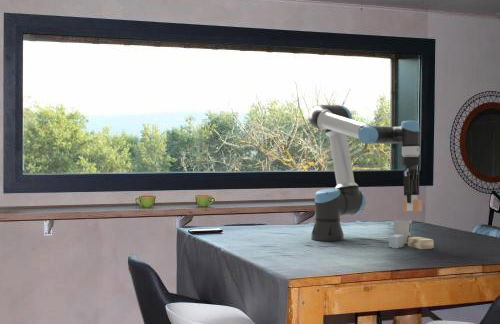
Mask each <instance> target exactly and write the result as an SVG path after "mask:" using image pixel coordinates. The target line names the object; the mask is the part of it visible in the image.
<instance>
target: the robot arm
mask: <svg viewBox="0 0 500 324" xmlns="http://www.w3.org/2000/svg"><path fill="white" fill-rule="evenodd" d="M308 122H309V124H310V125H311V126H312V127H314V128H315V129H318V130H322V131H325V135H326V136H327V137H328V138H329V144H330V150H331V157H332V163H333V164H332V165H333V169H334V176H335V181H336V182H335V183H336V186H335V187H334V188H333V187H331V188H324V189H320V190H317V191H316V192H315V195H314V225H313V228H312V231H311V233H310V234H311V238H310V239H311V240H314V241H320V242H321V241H323V242H337V241H338V242H339V241H342V240H345V236H344V231H343V227H342V225H341V216H354V215H358V214H360V213H362V211H363V210H364V208H365V207H366V204H367V203H366V201H367V199H366V195H365V193H364V192H363V191H362V190H361V189H359V185H358V183H356V182H355V177H354V176H355V175H354V170H353V165H352V159H351V153H350V148H349V147H350V146H349V141H348V137H350V138H354V139H356V140H359V141H360V142H361V143H363V144H367V145H373V144H375V145H376V144H383V145H384V144H386V145H391V144H401V156H402V158H401V165H402V166H404V167H405V171H402V177H403V196H405V198H406V199H405V200H406V202H407V211H413V200H418V196H419V195H420V170H418V169H417V166H420V165H421V157H420V154H421V152H420V151H421V148H420V132H421V131H420V123H419V121H418V120H403V121H401V122H400V123H401V124H400V126H377V125H372V124H368V123H365V122H361V121H358V120H355V119H353V116H352V113H351V111H350V109H349V108H347V107H346V106H343V105H339V104H333V105H332V104H331V105H330V104H318V105H315V106H314V107H312V109H310V111H309V114H308Z"/></svg>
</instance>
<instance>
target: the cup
mask: <svg viewBox="0 0 500 324" xmlns="http://www.w3.org/2000/svg"><path fill="white" fill-rule="evenodd" d="M392 224H393V225H392V226H393V233H394V234H393V235H395V234H396V235H404V245H406V244H407V245H408V237H411V232H412V220H411V219H410V220H409V219H394V220H393V221H392Z"/></svg>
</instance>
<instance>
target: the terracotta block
mask: <svg viewBox="0 0 500 324" xmlns="http://www.w3.org/2000/svg"><path fill="white" fill-rule="evenodd" d="M402 211H403V212H405V213H406V212H408V213H410V212H412V213H413V212H414V213H418V212H423V199H417V200H413V211H407V202H406V199H402Z"/></svg>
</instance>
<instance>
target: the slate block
mask: <svg viewBox="0 0 500 324" xmlns="http://www.w3.org/2000/svg"><path fill="white" fill-rule="evenodd" d="M389 247H392V248H391V249H400V248H403V247H405V244H404V235H396V234H395V235H394V234H392V235H389V236H388V248H389ZM399 247H400V248H399Z"/></svg>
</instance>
